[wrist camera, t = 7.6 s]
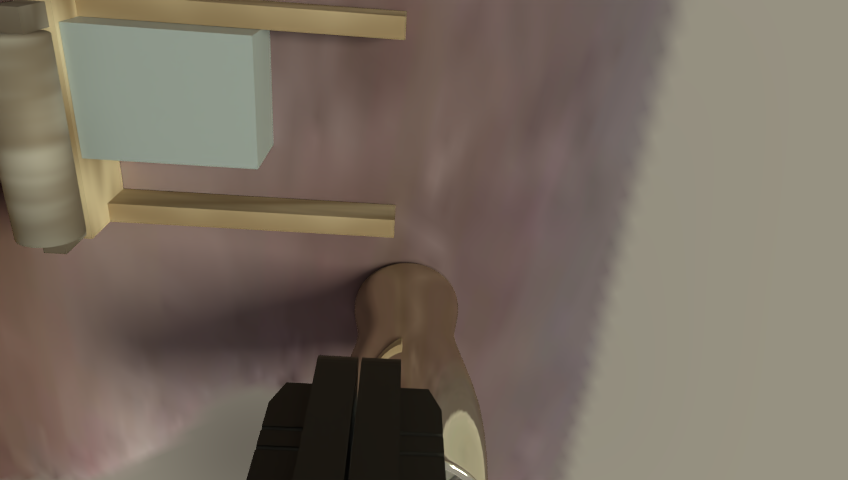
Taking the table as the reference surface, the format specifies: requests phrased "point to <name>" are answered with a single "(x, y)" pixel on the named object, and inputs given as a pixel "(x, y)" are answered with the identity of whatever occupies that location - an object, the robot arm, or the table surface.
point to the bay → (101, 179)
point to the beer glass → (424, 354)
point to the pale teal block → (170, 91)
